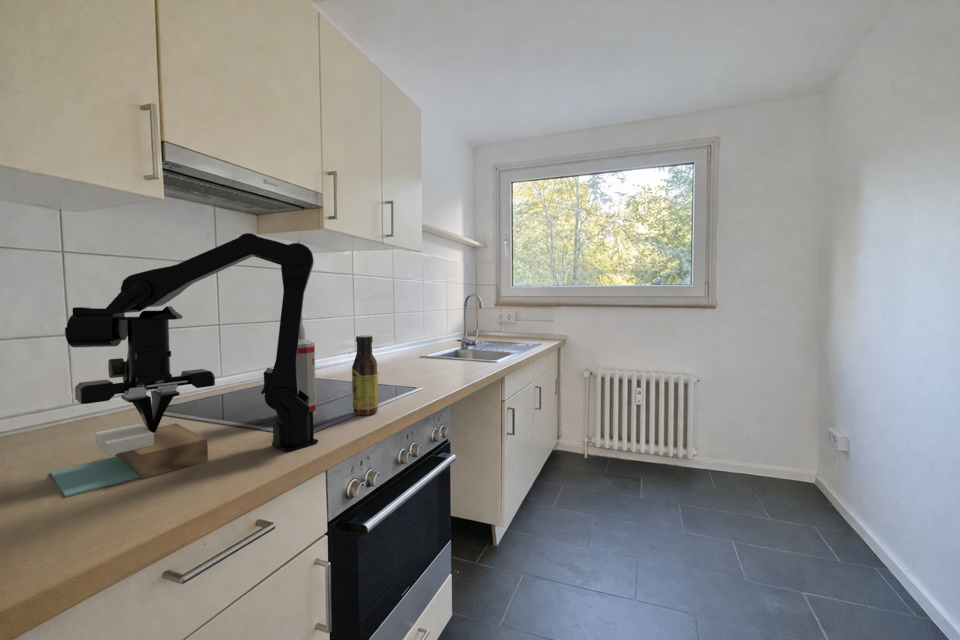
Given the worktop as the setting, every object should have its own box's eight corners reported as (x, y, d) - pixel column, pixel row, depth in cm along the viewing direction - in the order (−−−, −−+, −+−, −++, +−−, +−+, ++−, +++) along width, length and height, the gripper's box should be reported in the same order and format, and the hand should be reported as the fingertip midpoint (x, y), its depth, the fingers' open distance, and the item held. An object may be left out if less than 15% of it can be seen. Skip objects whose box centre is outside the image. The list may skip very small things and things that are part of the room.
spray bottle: (277, 415, 103) (274, 316, 102) (305, 409, 109) (303, 315, 108) (293, 421, 99) (291, 316, 98) (321, 414, 105) (320, 315, 104)
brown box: (177, 442, 83) (176, 423, 83) (208, 461, 74) (207, 439, 74) (115, 456, 76) (114, 435, 76) (141, 479, 66) (140, 454, 66)
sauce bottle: (355, 410, 108) (354, 334, 108) (379, 409, 109) (378, 334, 108) (350, 417, 102) (349, 336, 101) (376, 416, 103) (375, 336, 102)
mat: (120, 457, 76) (120, 455, 76) (143, 476, 67) (143, 474, 67) (50, 473, 69) (50, 471, 69) (65, 497, 60) (65, 495, 60)
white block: (140, 434, 76) (139, 423, 76) (154, 445, 70) (153, 433, 70) (96, 443, 71) (95, 432, 71) (107, 455, 66) (106, 443, 66)
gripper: (193, 339, 85) (195, 413, 86) (67, 346, 71) (70, 436, 71) (215, 342, 79) (217, 423, 79) (80, 351, 64) (84, 451, 65)
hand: (152, 432), depth 74 cm, fingers closed
